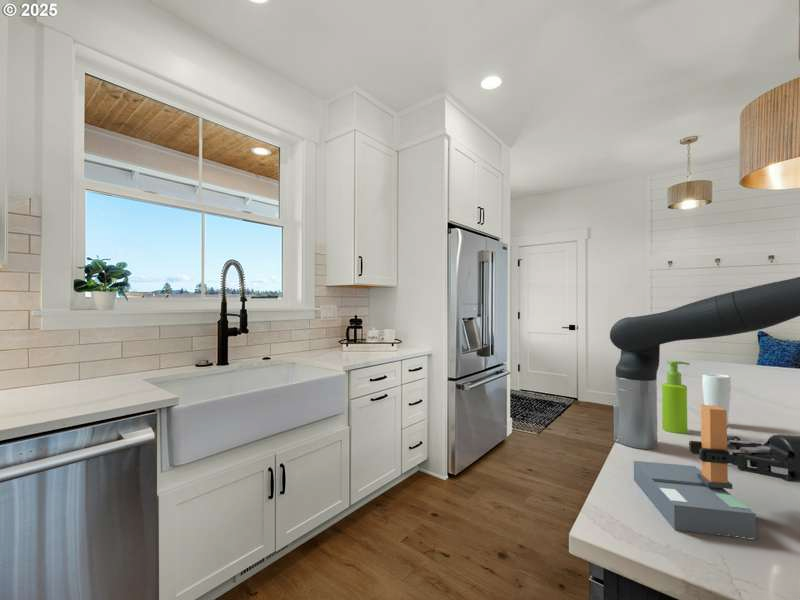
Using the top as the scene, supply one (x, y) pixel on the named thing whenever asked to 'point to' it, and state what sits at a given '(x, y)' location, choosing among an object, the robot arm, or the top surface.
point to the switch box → (693, 500)
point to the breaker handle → (714, 445)
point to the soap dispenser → (674, 401)
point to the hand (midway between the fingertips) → (695, 450)
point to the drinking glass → (716, 390)
